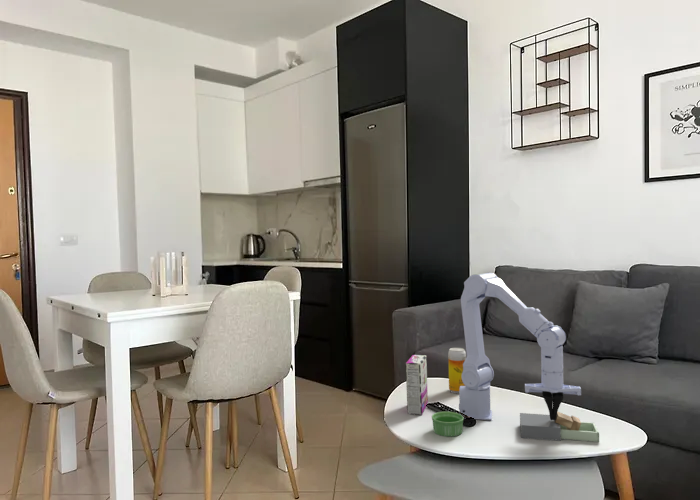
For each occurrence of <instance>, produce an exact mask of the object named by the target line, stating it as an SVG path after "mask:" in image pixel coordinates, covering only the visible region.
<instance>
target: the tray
mask: <svg viewBox="0 0 700 500" xmlns="http://www.w3.org/2000/svg"><path fill="white" fill-rule="evenodd" d="M580 422H581V425H580V428H579V431H577V430H567V427H565V426H563V425H561V424H559V425H560V428H561V440H569V441H570V440H571V441H582V442H595V443H600V431H599V430H598V427H597V425H596V424H595V422H588V421H587V422H586V421H580Z"/></svg>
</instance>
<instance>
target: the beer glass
mask: <svg viewBox="0 0 700 500" xmlns="http://www.w3.org/2000/svg"><path fill="white" fill-rule="evenodd" d="M447 353H448V389H449V391H450V392H451V393H453V394H459V390H460V386H465V385H464V383H463V381H462V372H463V363H464V361H465V359H466V357H467V351H466V349H464V348H463V347H451V348H449V349H448V351H447Z"/></svg>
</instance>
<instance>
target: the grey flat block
mask: <svg viewBox="0 0 700 500" xmlns="http://www.w3.org/2000/svg"><path fill="white" fill-rule="evenodd" d="M519 426H520V434H521V435H520V436H521V438H522V439H531V440H545V441H546V440H547V441H561V440H562V439H561V428H560V425H559V424H558V423H556V422H555V420H550V414H543V413H542V414H541V413H526V412H520V413H519Z"/></svg>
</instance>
